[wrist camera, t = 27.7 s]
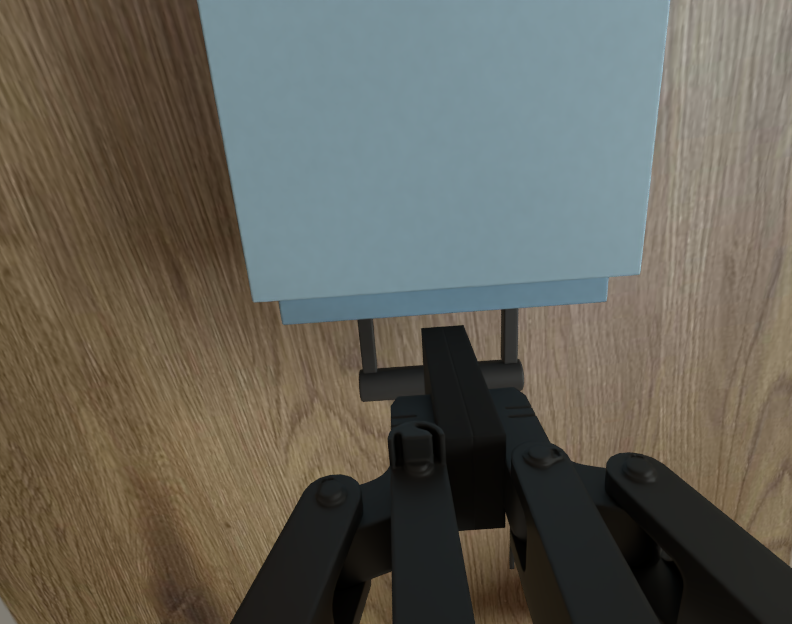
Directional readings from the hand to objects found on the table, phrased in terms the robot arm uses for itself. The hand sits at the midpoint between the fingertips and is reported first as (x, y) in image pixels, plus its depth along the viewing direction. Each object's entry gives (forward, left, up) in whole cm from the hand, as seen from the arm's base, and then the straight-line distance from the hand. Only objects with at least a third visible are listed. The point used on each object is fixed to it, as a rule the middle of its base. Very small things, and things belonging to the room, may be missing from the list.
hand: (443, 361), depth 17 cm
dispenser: (+10, 0, -9) cm, 13 cm away
